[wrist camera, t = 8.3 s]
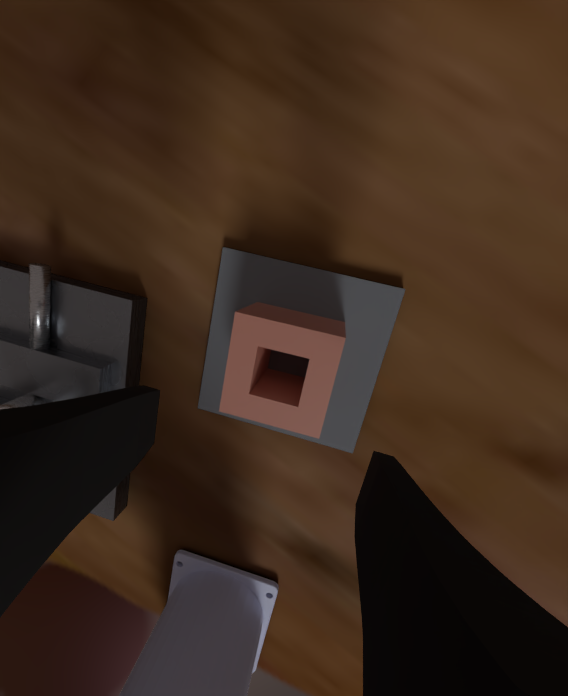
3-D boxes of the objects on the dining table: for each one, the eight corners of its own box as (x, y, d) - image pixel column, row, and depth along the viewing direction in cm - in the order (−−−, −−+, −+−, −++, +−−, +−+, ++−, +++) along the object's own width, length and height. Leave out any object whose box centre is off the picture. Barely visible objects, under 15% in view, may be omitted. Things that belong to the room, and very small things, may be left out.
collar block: (323, 403, 19) (319, 438, 15) (243, 383, 20) (218, 411, 16) (345, 322, 18) (345, 337, 14) (257, 301, 18) (235, 311, 14)
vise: (126, 505, 24) (68, 571, 19) (0, 463, 26) (-88, 514, 20) (148, 285, 20) (78, 292, 15) (-8, 246, 21) (-124, 239, 16)
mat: (352, 447, 20) (352, 453, 20) (201, 404, 21) (197, 408, 21) (403, 288, 17) (405, 289, 17) (226, 247, 18) (223, 247, 18)
